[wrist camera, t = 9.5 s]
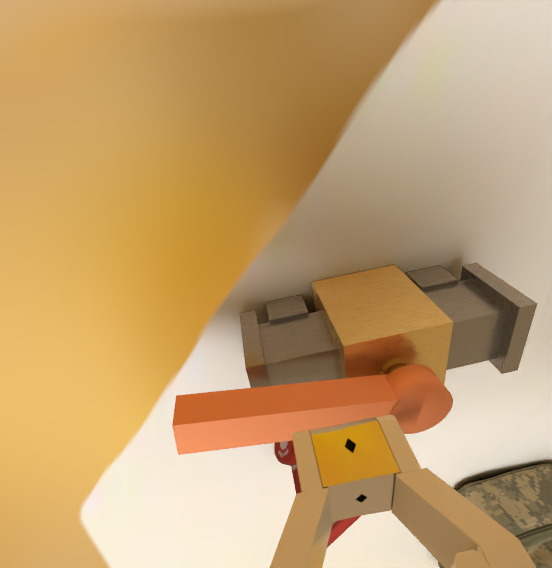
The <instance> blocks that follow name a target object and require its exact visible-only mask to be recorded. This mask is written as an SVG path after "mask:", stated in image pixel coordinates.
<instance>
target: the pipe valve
mask: <svg viewBox="0 0 552 568" xmlns="http://www.w3.org/2000/svg"><path fill="white" fill-rule="evenodd" d="M312 288H313V297H314V306H315V312H313V313H309V314H308V310H307V308H306V305H305V303H304V300H303V298H302V296H301V295H298V296H293V297H288V298H284V299H279V300H274V301H270V302H265V303H266V308H267V313H268V318H269V322H267V323H262V324H258V320H257V316H256V311H255V310H253V311H248V312H243V313H240V319H241V328H242V338H243V347H244V356H245V365H246V371H247V375H248V378H249V382H250V386H251V388H256V387H266V386H276V385H286V384H295V383H305V382H315V381H325V380H335V379H344V378H354V377H364V376H374V375H383V374H389V373H391V372H392V371H394V370H396V369H398V368H400V367H403V366H407V365H413V364H419V365H424V366H427V367H429V368H430V369H432V370H433V372H434V373H435V374H436V375H437V377H438V378H439V379H440V381H441V382H442V383H443V385H444V381H445V374H446V370H448V369H452V368H457V367H461V366H465V365H470V364H474V363H478V362H483V361H487V360H489V361H490V362H491V363H492V364H493V365H494V366H495V367H496V368H497V369H498V370H499V371H500V372H501V373H502V374H503V373H507V372H512V371H516V370H518V367H519V363H520V360H521V357H522V353H523V350H524V346H525V343H526V340H527V336H528V333H529V330H530V326H531V323H532V320H533V316H534V313H535V309H536V306H537V303H535V302H534V301H532V300H531V299H530V298H528V297H527V296H525V295H524V294H522V293H521V292H519V291H518V290H516V289H515V288H513V287H512V286H510V285H509V284H507V283H506V282H504V281H503V280H501V279H500V278H498V277H497V276H495V275H494V274H492V273H491V272H489V271H488V270H486V269H485V268H483V267H482V266H480V265H479V264H477V263H474V264H469V265H465V266H462V272H461V278H460V281H458V279H457V278H456V277H454V276H453V275H452V274H451V273H449V272H448V271H447V270H446V269H444V268H443V267H442V266H441V265H440V266H435V267H430V268H425V269H421V270H416V271H411V272H407V273H406V275H405V274H404V273H403V272H402V271H401V270H400V269H399V268H398V267H397V266H396V265H390V266H386V267H381V268H376V269H371V270H366V271H362V272H357V273H352V274H347V275H343V276H338V277H333V278H328V279H324V280H319V281H314V282H312Z"/></svg>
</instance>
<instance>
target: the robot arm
mask: <svg viewBox="0 0 552 568" xmlns="http://www.w3.org/2000/svg"><path fill="white" fill-rule="evenodd" d="M292 439H293V445H294V451H295V457H296V463H297V469H298V474H299V480H300V486H301V491H302V492H301V493H297V495H296V497H295V500H294V503H293V506H292V508H291V511H290V514H289V517H288V519H287V522H286V525H285V528H284V530H283V533H282V536H281V538H280V541H279V544H278V547H277V549H276V552H275V555H274V558H273V560H272V563H271V566H270V568H322V566H323V561H324V557H325V553H326V549H327V545H328V540H329V536H330V532H331V528H332V522H335V521H339V520H343V519H348V518H352V517H356V516H361V515H366V514H372V513H378V512H384V511H390V510H392V513H393V514H394V515H395V516H396V517H397V518H398V519H399V520H400V521H401V522H402V523H403V524H404V525H405V526H406V527H407V528H408V530H409V531H410V532H411V533H412V534H413V535H414V536H415V537H416V538H417V539H418V540H419V541H420V542H421V543H422V544H423V545H424V546H425V547H426V548H427V549H428V551H429V552H430V553H431V554H432V555H433V556H434V557H435V558H436V559H437V560H438V561H439V562H440V563H441V564H442V565H443V566H444V567H445V568H536V566H535V564H534V563H533V561H532V560H531V558H530V556H529V555H528V553H527V552H526V550H525V548H524V547H523V545H522V544H521V542H520V540H519V539H518V538H517V537H515V536H514V535H513V534H512V533H510V532H509V531H508V530H506V529H505V528H504V527H502V526H501V525H500V524H499V523H497V522H496V521H495V520H493V519H492V518H491V517H489V516H488V515H487V514H486V513H484V512H483V511H482V510H480V509H479V508H478V507H476V506H475V505H474V504H473V503H471V502H470V501H469V500H467V499H466V498H465V497H463V496H462V495H461V494H460V493H458V492H457V491H456V490H454V489H453V488H452V487H450V486H449V485H448V484H447V483H445V482H444V481H443V480H441V479H440V478H439V477H437V476H436V475H435V474H434V473H432V472H431V471H430V470H428V469H427V468H424V469H421V467H420V465H419V463H418V461H417V459H416V457H415V455H414V453H413V451H412V449H411V447H410V445H409V443H408V441H407V439H406V437H405V435H404V433H403V431H402V429H401V427H400V425H399V423H398V421H397V419H396V417H395V416H393V415H392V414H389V415H384V416H380V417H372V418H367V419H363V420H358V421H353V422H348V423H343V424H340V425H335V426H329V427H324V428H318V429H313V430H306V431H301V432H296V433H292Z"/></svg>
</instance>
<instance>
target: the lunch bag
mask: <svg viewBox="0 0 552 568" xmlns="http://www.w3.org/2000/svg"><path fill="white" fill-rule="evenodd" d="M457 492H458V493H460V494H461V495H462V496H463V497H465V498H466V499H467V500H469V501H470V502H471V503H473V504H474V505H475V506H476V507H478V508H479V509H480V510H482V511H483V512H484V513H486V514H487V515H488V516H489V517H491V518H492V519H493V520H495V521H496V522H497V523H499V524H500V525H501V526H502V527H504V528H505V529H506V530H508V531H509V532H510V533H512V534H513V535H514V536H515V537H517V538H518V539H519V540H520V542H521V544H522V545H523V547H524V548H525V550H526V552H527V553H528V555H529V556H530V558H531V560H532V561H533V563H534V564H535V566H536V568H552V464H540V465H535V466H530V467H526V468H522V469H518V470H514V471H511V472H507V473H504V474H501V475H498V476H495V477H492V478H489V479H485V480H480V481H475V482H471V483H468V484H465V485H463V486H462V487H461V488H460V489H459V490H458V491H457ZM438 565H439V567H440V568H445V567H444V566H443V565H442V564H441V563H440V562H439V561H438Z"/></svg>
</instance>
